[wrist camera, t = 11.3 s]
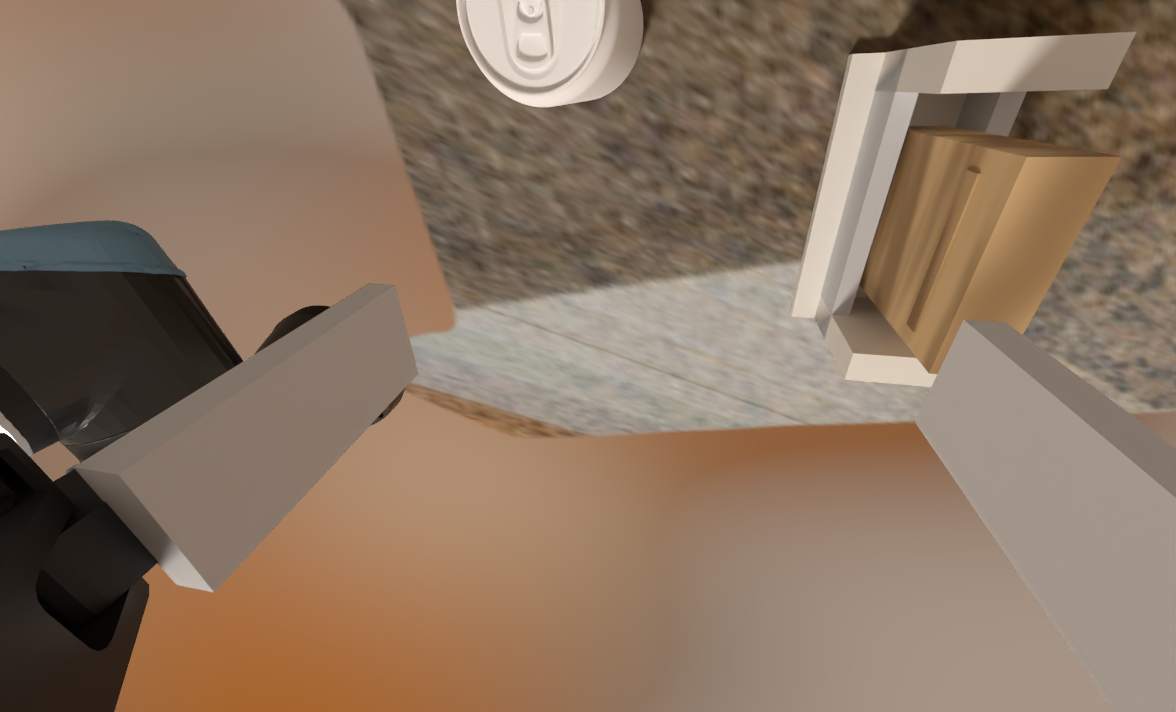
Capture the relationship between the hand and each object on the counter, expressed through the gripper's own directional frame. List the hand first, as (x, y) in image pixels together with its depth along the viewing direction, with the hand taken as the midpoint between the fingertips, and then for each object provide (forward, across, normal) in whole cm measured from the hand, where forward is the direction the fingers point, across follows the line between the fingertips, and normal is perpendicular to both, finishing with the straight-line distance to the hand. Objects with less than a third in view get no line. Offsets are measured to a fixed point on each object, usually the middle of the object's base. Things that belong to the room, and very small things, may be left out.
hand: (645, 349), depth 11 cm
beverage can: (+27, -7, +9) cm, 29 cm away
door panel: (+26, +15, -2) cm, 30 cm away
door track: (+26, +16, -2) cm, 31 cm away
